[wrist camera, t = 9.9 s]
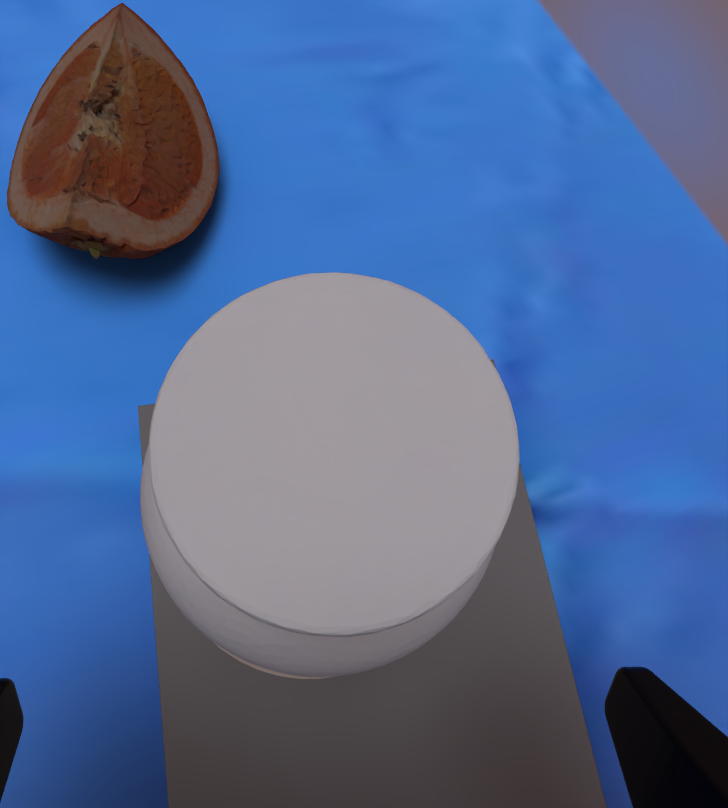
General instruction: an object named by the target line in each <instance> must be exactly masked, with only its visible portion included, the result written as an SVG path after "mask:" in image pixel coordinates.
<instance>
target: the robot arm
mask: <svg viewBox="0 0 728 808" xmlns="http://www.w3.org/2000/svg"><path fill="white" fill-rule="evenodd" d="M605 715H606V719H607V722H608V726H609V729H610V732H611V736H612V739H613V742H614V746H615V749H616V753H617V756H618V759H619V763H620V766H621V769H622V773H623V776H624V779H625V783H626V786H627V789H628V793H629V796H630V799H631V803H632V806H633V808H728V737H727V736H726V735H725V734H724V733H722V732H721V731H720V730H719V729H718V728H717V727H715V726H714V725H713V724H712V723H711V722H710V721H708V720H707V719H706V718H705V717H704V716H703V715H701V714H700V713H699V712H698V711H697V710H696V709H694V708H693V707H692V706H691V705H690V704H689V703H687V702H686V701H685V700H684V699H683V698H682V697H681V696H679V695H678V694H677V693H676V692H675V691H674V690H672V689H671V688H670V687H669V686H668V685H667V684H665V683H664V682H663V681H662V680H661V679H660V678H658V677H657V676H656V675H655V674H654V673H653V672H651V671H650V670H648V669H647V668H644V667H621V668H620V669H618V670H617V672H616V674H615V677H614V679H613V682H612V684H611V687H610V689H609V692H608V694H607V697H606V700H605ZM22 728H23V713H22V709H21V706H20V702H19V699H18V695H17V691H16V688H15V685H14V682H13V681H12V680H10V679H8V678H0V802H1V798H2V795H3V792H4V789H5V785H6V782H7V779H8V776H9V772H10V769H11V766H12V762H13V759H14V756H15V753H16V749H17V746H18V743H19V740H20V736H21V733H22Z"/></svg>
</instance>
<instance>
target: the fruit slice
mask: <svg viewBox="0 0 728 808" xmlns="http://www.w3.org/2000/svg"><path fill="white" fill-rule="evenodd" d="M218 176H219V157H218V149H217V144H216V139H215V135H214V131H213V128H212V124H211V122H210V119H209V116H208V113H207V110H206V107H205V104H204V101H203V99H202V97H201V95H200V92H199V91H198V89H197V87H196V85H195V83H194V81H193V79H192V78H191V76H190V75H189V73H188V72H187V70H186V69H185V67H184V66H183V64H182V63H181V61H180V60H179V59H178V58H177V57H176V56H175V54H174V53H173V52H172V50H171V49H170V48H169V47H168V46H167V44H166V43H165V42H164V41H163V40H162V39H161V37H160V36H159V35H158V34H157V33H156V32H155V30H153V29H152V28H151V27H150V26H149V25H148V24H147V23H146V22H145V21H144V20H143V19H141V18H140V17H139V16H138V15H137V14H136V13H135V12H134V11H132V10H131V9H130V8H128V7H127V6H126V5H125V4H123V3H121V4H119V5H118V6H116V7H114V8H113V9H111V10H110V11H109V12H108V13H107V14H106V15H105V16H103V17H102V18H101V19H99V20H98V21H97V22H95V23H94V24H93V25H91V26H90V28H89V29H88V30H87V31H85V32H84V33H83V34H82V35H81V36H80V37H79V38H78V39H77V40H76V41H75V42H74V43H73V45H72V46H71V47H70V48H69V49H68V50H67V51H66V53H65V54H64V55H63V56H62V57H61V59H60V60H59V62H58V63H57V64H56V66H55V67H54V68H53V70H52V71H51V73H50V74H49V76H48V77H47V79H46V80H45V82H44V84H43V85H42V87H41V88H40V90H39V92H38V95H37V97H36V99H35V101H34V102H33V104H32V107H31V109H30V111H29V113H28V116H27V118H26V120H25V123H24V125H23V128H22V131H21V134H20V137H19V140H18V143H17V147H16V150H15V155H14V159H13V161H12V166H11V171H10V178H9V186H8V190H7V206H8V210H9V213H10V216H11V217H13V219H14V220H15V221H16V223H17V224H18V225H20V226H21V227H23V228H25V229H26V230H28V231H30V232H32V233H35V234H37V235H39V236H42V237H44V238H47V239H49V240H52V241H55V242H57V243H60V244H62V245H65V246H68V247H71V248H74V249H77V250H82V251H83V250H84V251H90V253H91V254H92V256H93V257H94V258H95V259H98V258H99V257H100V256H105V257H113V258H121V257H122V258H129V259H144V258H147V257H151V256H153V255H155V254H157V253H160V252H162V251H164V250H166V249H167V248H169V247H171V246H174V245H176V244H178V243H179V242H181V241H182V240H183V239H185V238H186V237H187V236H188V235H190V234H191V233H192V232H193V231H194V230H195V229H196V228H197V226H198V225H199V224H200V223H201V221H202V219H203V218H204V216H205V215H206V213H207V211H208V210H209V208H210V206H211V203H212V201H213V198H214V194H215V191H216V187H217V183H218Z"/></svg>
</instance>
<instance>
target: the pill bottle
mask: <svg viewBox="0 0 728 808" xmlns="http://www.w3.org/2000/svg"><path fill="white" fill-rule="evenodd" d="M518 473H519V441H518V432H517V425H516V421H515V417H514V413H513V409H512V405H511V401H510V399H509V396H508V394H507V391H506V389H505V386H504V384H503V382H502V380H501V378H500V376H499V374H498V372H497V370H496V368H495V367H494V365H493V363H492V362H491V360H490V359H489V357H488V356H487V354H486V352H485V351H484V349H483V348H482V346H481V345H480V344H479V343H478V341H477V340H476V339H475V338H474V337H473V335H472V334H471V333H470V332H469V331H468V330H467V329H466V328H465V327H464V326H463V325H462V324H461V323H460V322H459V321H457V320H456V319H455V318H454V317H453V316H451V315H450V314H449V313H448V312H447V311H445V310H444V309H443V308H441V307H440V306H438V305H437V304H435V303H434V302H432V301H431V300H429V299H427V298H426V297H424V296H422V295H420V294H419V293H417V292H415V291H412V290H410V289H408V288H405V287H403V286H400V285H398V284H395V283H393V282H390V281H385V280H382V279H379V278H374V277H369V276H363V275H357V274H350V273H314V274H304V275H299V276H294V277H290V278H285V279H282V280H278V281H275V282H272V283H269V284H267V285H265V286H262V287H260V288H257V289H255V290H253V291H251V292H248V293H246V294H244V295H242V296H241V297H239V298H237V299H235V300H233V301H232V302H230V303H229V304H228V305H226V306H225V307H223V308H222V309H221V310H219V311H218V312H217V313H215V314H214V315H213V316H211V317H210V318H209V319H208V320H207V321H206V322H205V323H204V324H203V325H202V326H201V327H200V328H199V329H198V330H197V331H196V332H195V333H194V334H193V335H192V336H191V338H190V339H189V340H188V341H187V343H186V344H185V346H184V347H183V348H182V350H181V351H180V353H179V354H178V356H177V357H176V359H175V360H174V362H173V364H172V366H171V367H170V369H169V371H168V373H167V375H166V377H165V380H164V382H163V384H162V386H161V388H160V391H159V393H158V397H157V400H156V404H155V407H154V411H153V415H152V420H151V426H150V435H149V444H148V448H147V451H146V455H145V459H144V464H143V469H142V476H141V491H140V506H141V517H142V526H143V531H144V536H145V540H146V543H147V547H148V550H149V554H150V556H151V559H152V562H153V564H154V567H155V569H156V571H157V574H158V576H159V578H160V580H161V582H162V584H163V585H164V587H165V589H166V591H167V592H168V594H169V595H170V597H171V598H172V600H173V601H174V603H175V604H176V605H177V607H178V608H179V609H180V610H181V612H182V613H183V614H184V616H185V617H186V618H187V619H188V620H189V621H190V622H191V623H192V624H193V625H194V626H195V627H196V628H197V629H199V630H200V631H201V632H202V633H203V634H204V635H205V636H206V637H207V638H208V639H210V640H211V641H213V642H214V643H216V644H217V645H219V646H220V647H221V648H223V649H225V650H226V651H228V652H230V653H231V654H233V655H235V656H237V657H239V658H241V659H243V660H245V661H247V662H249V663H252V664H254V665H257V666H259V667H263V668H266V669H269V670H272V671H276V672H280V673H285V674H290V675H296V676H302V677H333V676H344V675H351V674H356V673H360V672H365V671H369V670H372V669H375V668H378V667H381V666H384V665H386V664H389V663H391V662H393V661H395V660H398V659H400V658H402V657H404V656H406V655H408V654H409V653H411V652H413V651H415V650H416V649H418V648H420V647H421V646H422V645H424V644H425V643H426V642H428V641H429V640H431V639H432V638H433V637H434V636H435V635H437V634H438V633H439V632H440V631H441V630H443V629H444V628H445V627H446V626H447V625H448V624H449V623H450V622H451V621H452V620H453V619H454V618H455V617H456V616H457V615H458V613H459V612H460V611H461V610H462V608H463V607H464V606H465V605H466V604H467V602H468V601H469V599H470V598H471V596H472V595H473V593H474V592H475V590H476V589H477V587H478V585H479V583H480V581H481V580H482V578H483V576H484V574H485V572H486V569H487V567H488V565H489V563H490V560H491V557H492V554H493V551H494V548H495V546H496V544H497V542H498V540H499V539H500V536H501V534H502V532H503V530H504V527H505V525H506V523H507V520H508V517H509V514H510V511H511V508H512V504H513V501H514V498H515V495H516V489H517V483H518Z"/></svg>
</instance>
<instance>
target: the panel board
mask: <svg viewBox="0 0 728 808" xmlns="http://www.w3.org/2000/svg"><path fill="white" fill-rule="evenodd" d="M491 362H492V363H493V365H494V367H495V364H494V360H493V359H492V360H491ZM154 407H155V404H150V405H143V406H138V413H139V426H140V439H141V452H142V465H143V464H144V459H145V455H146V451H147V448H148V444H149V435H150V426H151V420H152V415H153V411H154ZM149 557H150V570H151V583H152V596H153V609H154V623H155V636H156V649H157V662H158V675H159V688H160V701H161V714H162V728H163V741H164V754H165V767H166V780H167V793H168V806H169V808H607V806H606V803H605V799H604V795H603V791H602V787H601V783H600V779H599V775H598V771H597V767H596V763H595V759H594V755H593V751H592V747H591V743H590V739H589V735H588V731H587V727H586V724H585V720H584V716H583V712H582V708H581V704H580V700H579V696H578V692H577V688H576V684H575V680H574V676H573V672H572V668H571V664H570V660H569V656H568V652H567V648H566V645H565V641H564V637H563V633H562V629H561V625H560V621H559V617H558V613H557V609H556V605H555V601H554V597H553V593H552V589H551V585H550V581H549V577H548V573H547V569H546V565H545V562H544V558H543V554H542V550H541V546H540V542H539V538H538V534H537V530H536V526H535V522H534V518H533V514H532V510H531V506H530V502H529V498H528V494H527V490H526V486H525V483H524V479H523V475H522V471H521V467H520V463H519V473H518V483H517V489H516V495H515V498H514V501H513V504H512V508H511V511H510V514H509V517H508V520H507V523H506V525H505V527H504V530H503V532H502V534H501V536H500V539H499V540H498V542H497V544H496V546H495V548H494V551H493V554H492V557H491V560H490V563H489V565H488V567H487V569H486V572H485V574H484V576H483V578H482V580H481V581H480V583H479V585H478V587H477V589H476V590H475V592H474V593H473V595H472V596H471V598H470V599H469V601H468V602H467V604H466V605H465V606H464V607H463V608H462V610H461V611H460V612H459V613H458V615H457V616H456V617H455V618H454V619H453V620H452V621H451V622H450V623H449V624H448V625H447V626H446V627H445V628H444V629H443V630H441V631H440V632H439V633H438V634H437V635H435V636H434V637H433V638H432V639H431V640H429V641H428V642H426V643H425V644H424V645H422V646H421V647H420V648H418V649H416V650H415V651H413V652H411V653H409V654H408V655H406V656H404V657H402V658H400V659H398V660H395V661H393V662H391V663H389V664H386V665H384V666H381V667H378V668H375V669H372V670H369V671H365V672H360V673H356V674H351V675H344V676H333V677H302V676H296V675H290V674H285V673H280V672H276V671H272V670H269V669H266V668H263V667H259V666H257V665H254V664H252V663H249V662H247V661H245V660H243V659H241V658H239V657H237V656H235V655H233V654H231V653H230V652H228V651H226V650H225V649H223V648H221V647H220V646H219V645H217V644H216V643H214V642H213V641H211V640H210V639H208V638H207V637H206V636H205V635H204V634H203V633H202V632H201V631H200V630H199V629H197V628H196V627H195V626H194V625H193V624H192V623H191V622H190V621H189V620H188V619H187V618H186V617H185V616H184V614H183V613H182V612H181V610H180V609H179V608H178V607H177V605H176V604H175V603H174V601H173V600H172V598H171V597H170V595H169V594H168V592H167V591H166V589H165V587H164V585H163V584H162V582H161V580H160V578H159V576H158V574H157V571H156V569H155V567H154V564H153V562H152V559H151V556H150V554H149Z"/></svg>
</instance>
